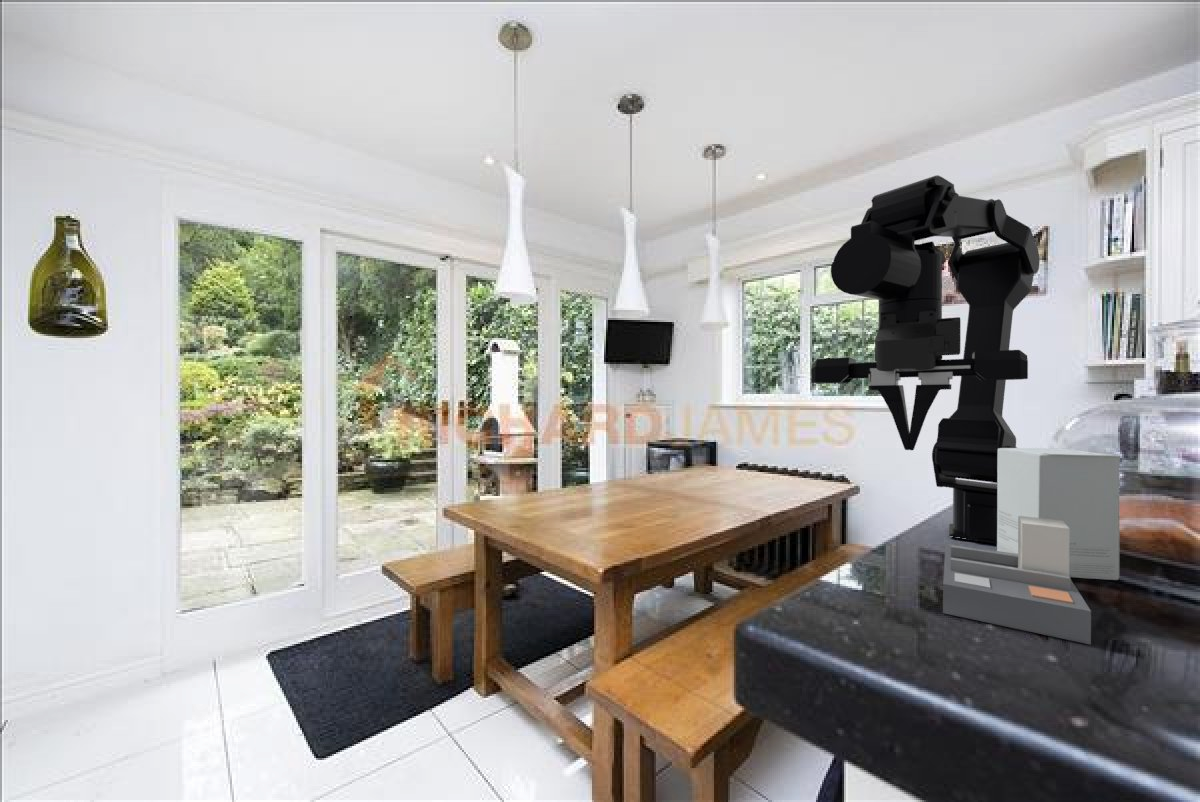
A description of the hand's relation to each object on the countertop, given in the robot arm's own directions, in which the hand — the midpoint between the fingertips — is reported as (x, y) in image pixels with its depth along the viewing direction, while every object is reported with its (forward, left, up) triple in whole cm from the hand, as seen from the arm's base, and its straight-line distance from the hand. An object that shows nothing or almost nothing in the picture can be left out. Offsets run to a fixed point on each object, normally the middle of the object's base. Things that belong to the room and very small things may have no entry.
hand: (909, 449), depth 52 cm
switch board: (+4, +8, -13) cm, 15 cm away
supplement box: (-10, +13, -13) cm, 21 cm away
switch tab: (+4, +10, -10) cm, 15 cm away
